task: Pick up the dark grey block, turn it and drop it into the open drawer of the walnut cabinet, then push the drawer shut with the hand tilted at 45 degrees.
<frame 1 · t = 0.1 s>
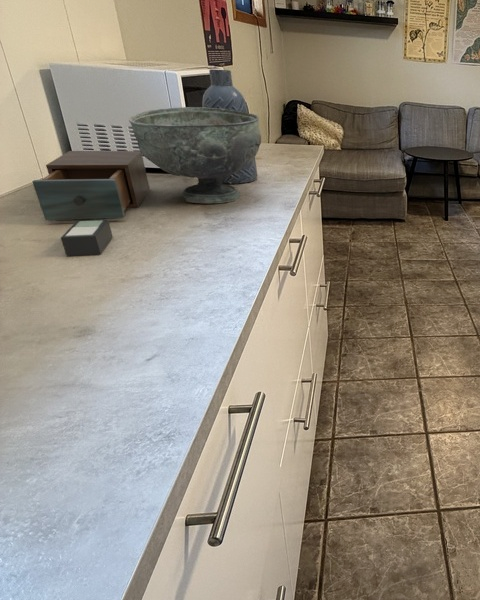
dark grey block: (91, 246, 86), on the counter
drawer: (89, 191, 99), point 5 cm above the counter, slide at 9.0 cm
decorative bowl: (211, 198, 118), on the counter
vase: (235, 179, 135), on the counter
cabinet: (108, 199, 111), on the counter
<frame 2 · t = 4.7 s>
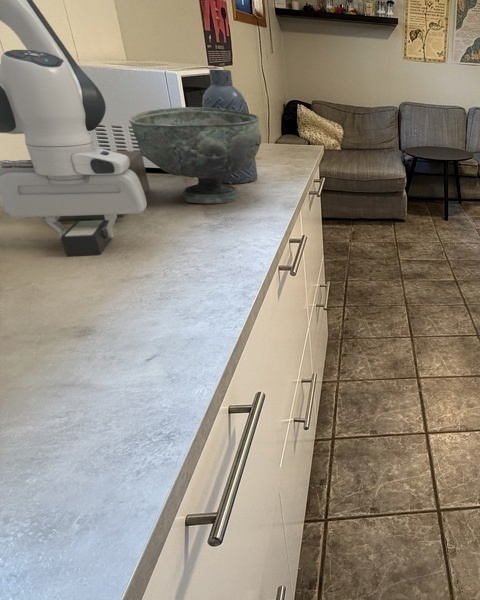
hand: (88, 238, 85), 2 cm above the counter, tool pointing down, fingers closed on dark grey block, 5 cm apart
dark grey block: (90, 246, 86), on the counter, touching gripper
everything else where it was.
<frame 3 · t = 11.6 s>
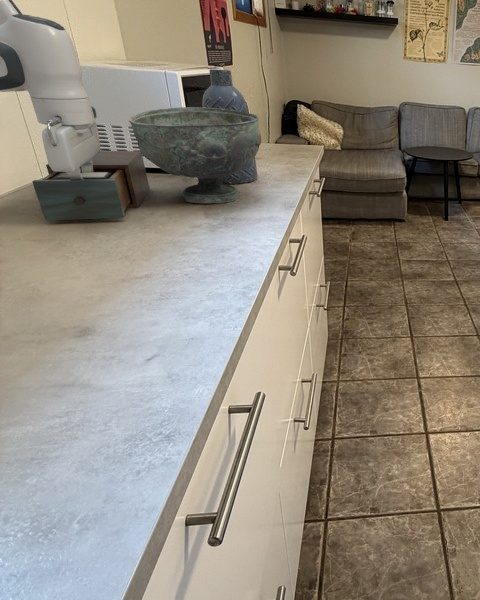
hand: (85, 184, 98), 7 cm above the counter, tool pointing down, fingers closed on dark grey block, 5 cm apart
dark grey block: (87, 192, 98), point 5 cm above the counter, touching gripper
drawer: (89, 191, 99), point 5 cm above the counter, slide at 9.0 cm, touching gripper
everything else where it was.
when the fingers open (7 cm above the counter, at t = 11.8 s): dark grey block drops 3 cm, resting on drawer.
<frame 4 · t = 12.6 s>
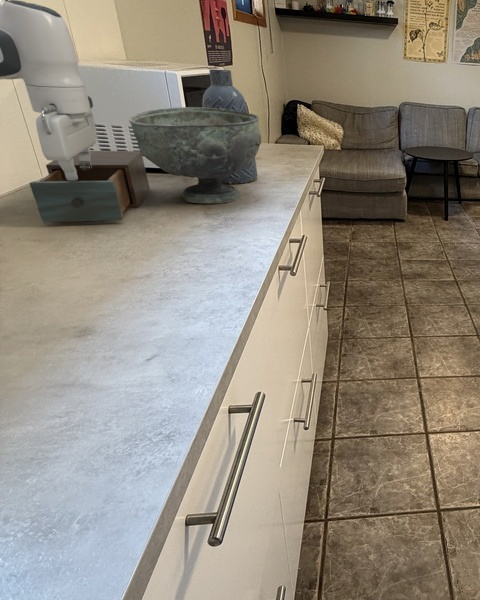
hand: (80, 174, 96), 9 cm above the counter, tool pointing down, fingers open, 7 cm apart
dark grey block: (90, 207, 99), point 2 cm above the counter, touching drawer
drawer: (87, 193, 98), point 5 cm above the counter, slide at 10.4 cm, touching dark grey block, gripper
everything else where it was.
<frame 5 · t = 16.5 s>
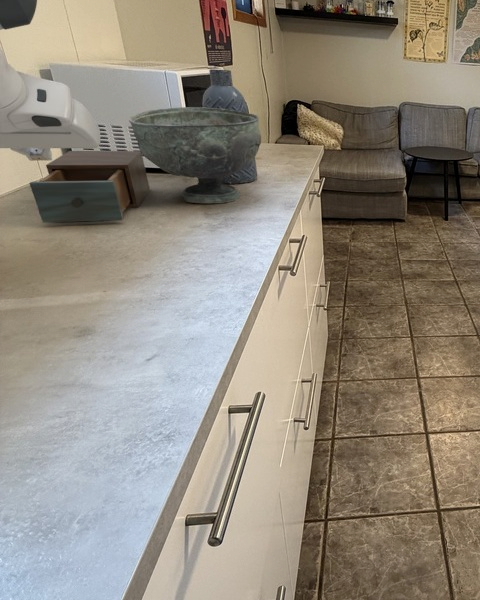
hand: (41, 157, 79), 16 cm above the counter, tool tilted 45°, fingers closed
drawer: (87, 193, 98), point 5 cm above the counter, slide at 10.4 cm, touching dark grey block
everything else where it was.
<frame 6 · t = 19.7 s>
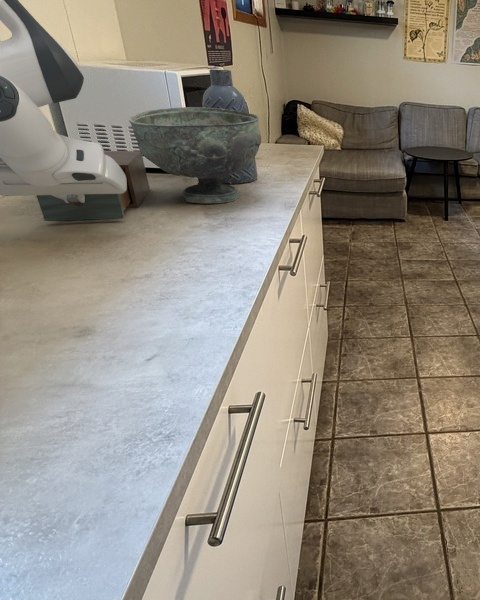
hand: (76, 199, 92), 5 cm above the counter, tool tilted 45°, fingers closed, pressing on drawer
dark grey block: (91, 206, 100), point 2 cm above the counter, touching drawer
drawer: (89, 191, 99), point 5 cm above the counter, slide at 9.3 cm, touching dark grey block, gripper
everything else where it was.
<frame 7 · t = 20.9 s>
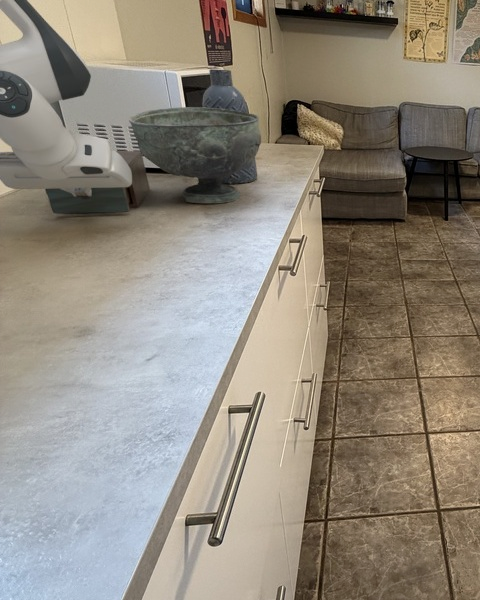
hand: (83, 193, 96), 5 cm above the counter, tool tilted 45°, fingers closed, pressing on drawer
dark grey block: (97, 200, 104), point 2 cm above the counter, touching drawer
drawer: (95, 186, 103), point 5 cm above the counter, slide at 4.5 cm, touching dark grey block, gripper
everything else where it was.
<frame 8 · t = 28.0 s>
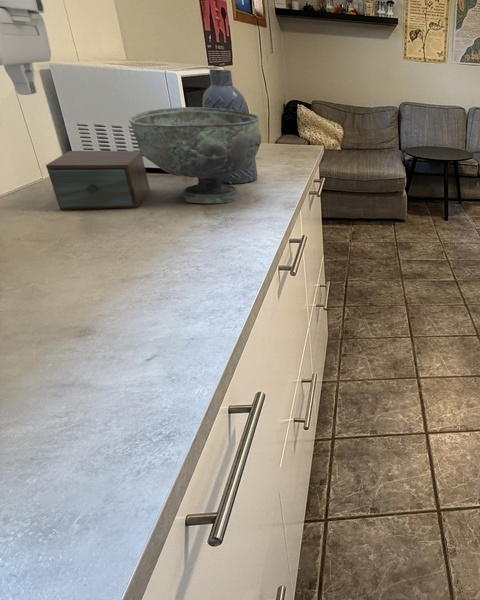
hand: (27, 94, 77), 25 cm above the counter, tool pointing down, fingers closed
dark grey block: (102, 194, 107), point 2 cm above the counter, touching drawer
drawer: (100, 181, 107), point 5 cm above the counter, slide at 0.0 cm, touching cabinet, dark grey block
everything else where it was.
at the end: dark grey block inside the target area in the cabinet (3.4 cm from its centre), point 2.0 cm above the cabinet's base; drawer slide at 0.0 cm; the gripper is holding nothing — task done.
